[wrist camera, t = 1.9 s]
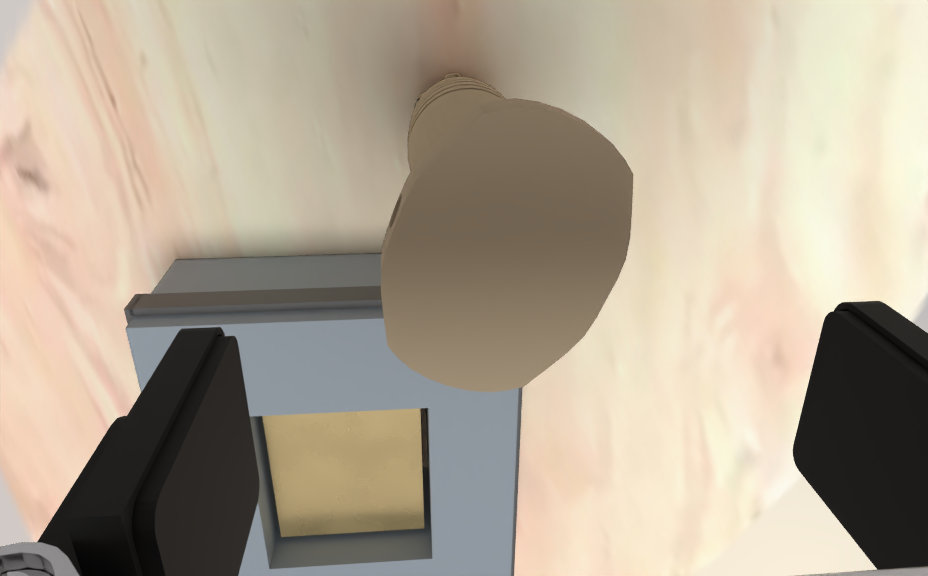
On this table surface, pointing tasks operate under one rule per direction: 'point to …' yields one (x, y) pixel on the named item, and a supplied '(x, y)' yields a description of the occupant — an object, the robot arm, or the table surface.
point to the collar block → (344, 408)
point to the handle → (500, 237)
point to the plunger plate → (346, 471)
